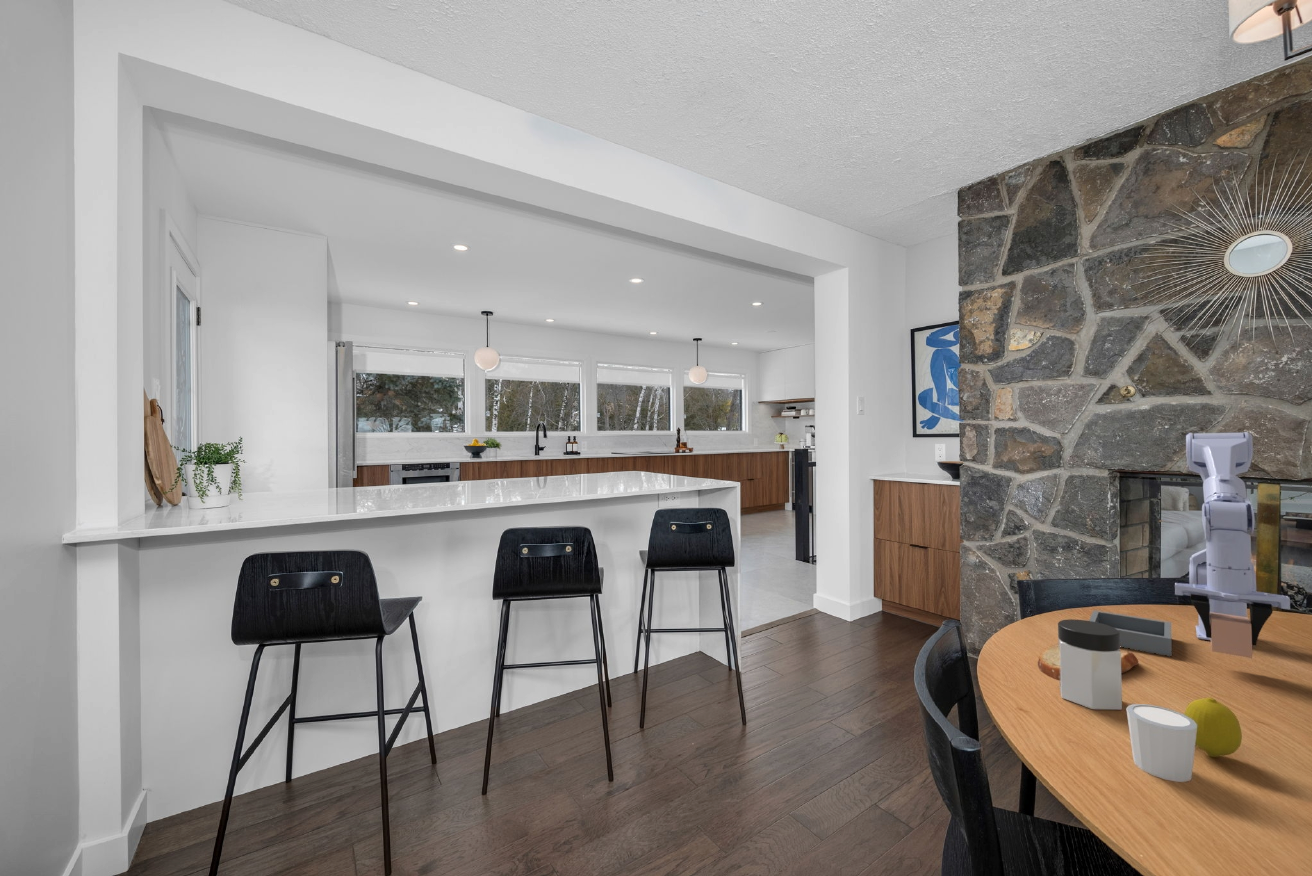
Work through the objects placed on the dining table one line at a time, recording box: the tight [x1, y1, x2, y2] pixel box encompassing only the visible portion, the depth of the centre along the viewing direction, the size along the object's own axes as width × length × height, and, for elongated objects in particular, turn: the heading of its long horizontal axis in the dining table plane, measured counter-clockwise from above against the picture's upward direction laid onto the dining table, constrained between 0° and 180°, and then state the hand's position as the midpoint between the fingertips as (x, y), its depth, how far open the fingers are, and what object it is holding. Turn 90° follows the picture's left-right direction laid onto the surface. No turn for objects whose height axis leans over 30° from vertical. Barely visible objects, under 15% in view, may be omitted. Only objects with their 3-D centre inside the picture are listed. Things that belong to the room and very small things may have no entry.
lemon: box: [1184, 697, 1243, 758], centre depth 74 cm, size 6×6×8 cm
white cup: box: [1125, 703, 1197, 783], centre depth 72 cm, size 7×7×7 cm
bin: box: [1088, 610, 1173, 657], centre depth 117 cm, size 13×13×4 cm
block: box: [1210, 612, 1253, 659], centre depth 100 cm, size 5×5×6 cm
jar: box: [1057, 618, 1123, 711], centre depth 91 cm, size 9×8×12 cm
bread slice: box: [1037, 643, 1139, 682], centre depth 103 cm, size 18×18×4 cm
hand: (1230, 639), depth 100 cm, fingers closed on block, 5 cm apart
